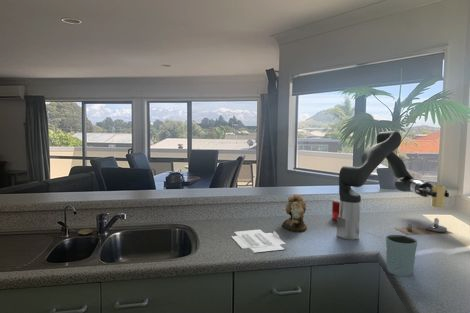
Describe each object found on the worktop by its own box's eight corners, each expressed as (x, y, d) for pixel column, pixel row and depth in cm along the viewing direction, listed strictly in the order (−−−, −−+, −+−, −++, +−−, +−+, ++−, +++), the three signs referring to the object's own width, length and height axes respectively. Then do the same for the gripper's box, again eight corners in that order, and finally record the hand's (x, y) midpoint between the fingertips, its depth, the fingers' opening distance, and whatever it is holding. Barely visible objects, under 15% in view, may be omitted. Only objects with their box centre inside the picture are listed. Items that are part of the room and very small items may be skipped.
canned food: (341, 222, 184) (342, 202, 183) (329, 219, 190) (329, 199, 189) (349, 220, 189) (350, 200, 188) (336, 216, 195) (337, 198, 194)
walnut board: (406, 237, 160) (407, 227, 159) (393, 230, 171) (393, 220, 170) (453, 236, 163) (454, 226, 162) (437, 229, 174) (437, 219, 173)
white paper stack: (246, 255, 137) (246, 246, 137) (227, 236, 164) (227, 228, 164) (292, 250, 143) (292, 241, 143) (266, 232, 170) (266, 225, 170)
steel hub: (437, 233, 162) (438, 221, 161) (421, 228, 170) (421, 216, 169) (450, 231, 165) (451, 219, 164) (433, 226, 173) (434, 215, 173)
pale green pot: (384, 274, 120) (386, 241, 119) (383, 263, 130) (385, 232, 128) (417, 279, 117) (419, 245, 115) (413, 267, 126) (415, 236, 125)
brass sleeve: (438, 207, 163) (440, 187, 162) (428, 205, 168) (430, 185, 167) (446, 206, 165) (447, 186, 164) (436, 204, 170) (437, 184, 169)
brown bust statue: (278, 222, 183) (278, 190, 181) (299, 221, 184) (300, 190, 183) (288, 232, 165) (289, 198, 163) (311, 232, 167) (312, 197, 165)
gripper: (408, 181, 179) (427, 187, 162) (435, 181, 180) (457, 187, 163) (407, 195, 180) (426, 202, 163) (434, 195, 181) (455, 202, 164)
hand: (441, 195), depth 163 cm, fingers closed on brass sleeve, 5 cm apart
